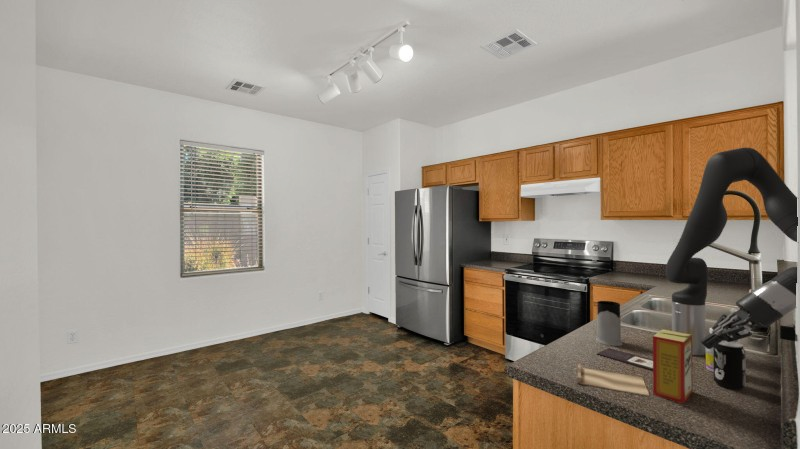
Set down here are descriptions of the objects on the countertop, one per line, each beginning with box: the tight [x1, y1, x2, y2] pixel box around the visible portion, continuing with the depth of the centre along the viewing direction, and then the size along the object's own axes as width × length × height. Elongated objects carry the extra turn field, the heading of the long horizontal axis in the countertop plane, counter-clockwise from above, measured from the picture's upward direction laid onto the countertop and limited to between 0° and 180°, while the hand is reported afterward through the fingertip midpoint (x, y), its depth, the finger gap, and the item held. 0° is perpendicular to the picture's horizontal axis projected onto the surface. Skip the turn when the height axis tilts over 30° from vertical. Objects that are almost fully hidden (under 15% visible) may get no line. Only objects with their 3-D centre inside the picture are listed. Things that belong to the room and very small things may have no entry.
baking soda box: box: [652, 328, 694, 404], centre depth 95 cm, size 10×6×16 cm
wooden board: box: [577, 362, 650, 397], centre depth 103 cm, size 12×17×2 cm
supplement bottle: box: [705, 327, 714, 373], centre depth 108 cm, size 7×7×13 cm
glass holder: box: [595, 300, 623, 347], centre depth 138 cm, size 9×14×15 cm, turn 143°
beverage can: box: [713, 341, 747, 391], centre depth 99 cm, size 7×7×12 cm
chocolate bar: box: [596, 347, 653, 372], centre depth 118 cm, size 9×1×18 cm
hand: (704, 345), depth 92 cm, fingers closed
